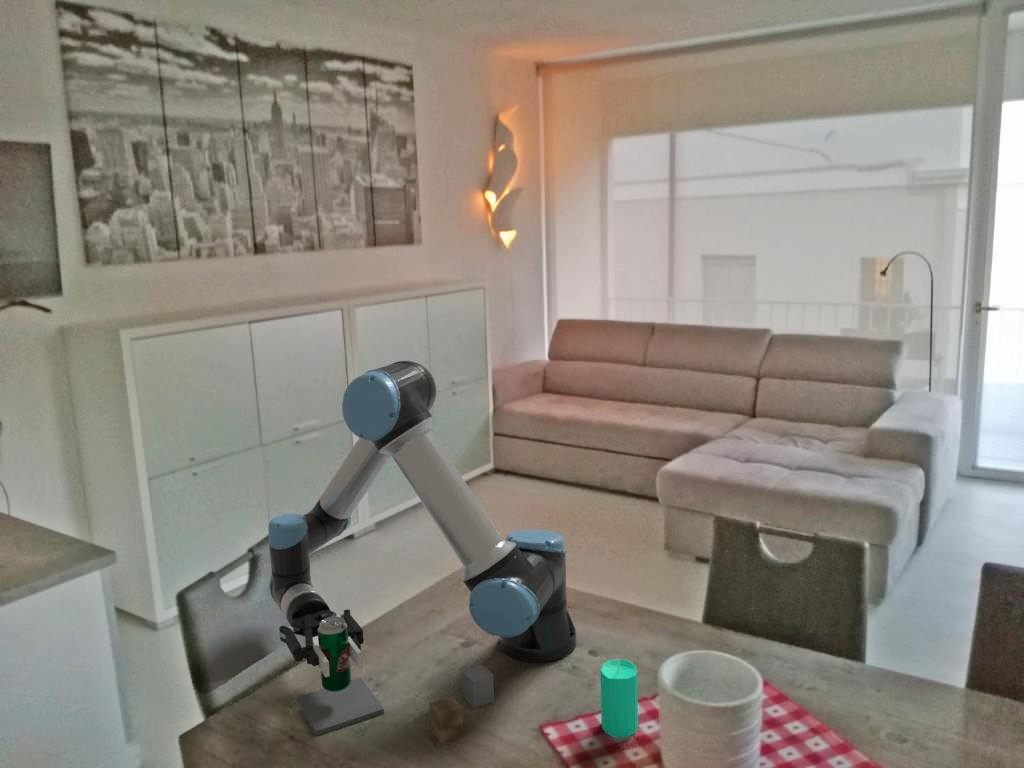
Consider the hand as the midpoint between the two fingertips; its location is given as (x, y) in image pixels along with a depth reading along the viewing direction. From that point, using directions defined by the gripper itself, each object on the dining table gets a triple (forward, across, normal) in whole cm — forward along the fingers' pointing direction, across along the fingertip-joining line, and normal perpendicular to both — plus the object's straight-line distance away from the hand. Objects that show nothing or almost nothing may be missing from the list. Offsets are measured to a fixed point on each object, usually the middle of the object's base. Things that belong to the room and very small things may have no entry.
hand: (343, 664), depth 139 cm
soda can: (-5, 0, -7) cm, 9 cm away
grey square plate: (-5, 0, -11) cm, 12 cm away
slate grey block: (+6, -22, -11) cm, 25 cm away
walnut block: (+12, -13, -11) cm, 21 cm away
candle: (+26, -38, -10) cm, 47 cm away
